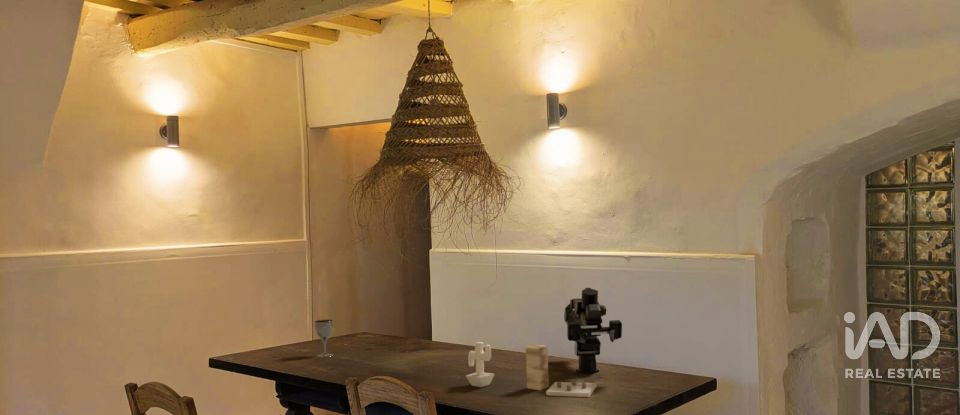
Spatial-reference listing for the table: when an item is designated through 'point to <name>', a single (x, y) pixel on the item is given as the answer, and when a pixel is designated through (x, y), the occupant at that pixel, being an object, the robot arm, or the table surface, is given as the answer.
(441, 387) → the table surface
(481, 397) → the table surface
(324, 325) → the wine glass
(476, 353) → the figurine
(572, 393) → the stub base plate
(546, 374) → the maple block
